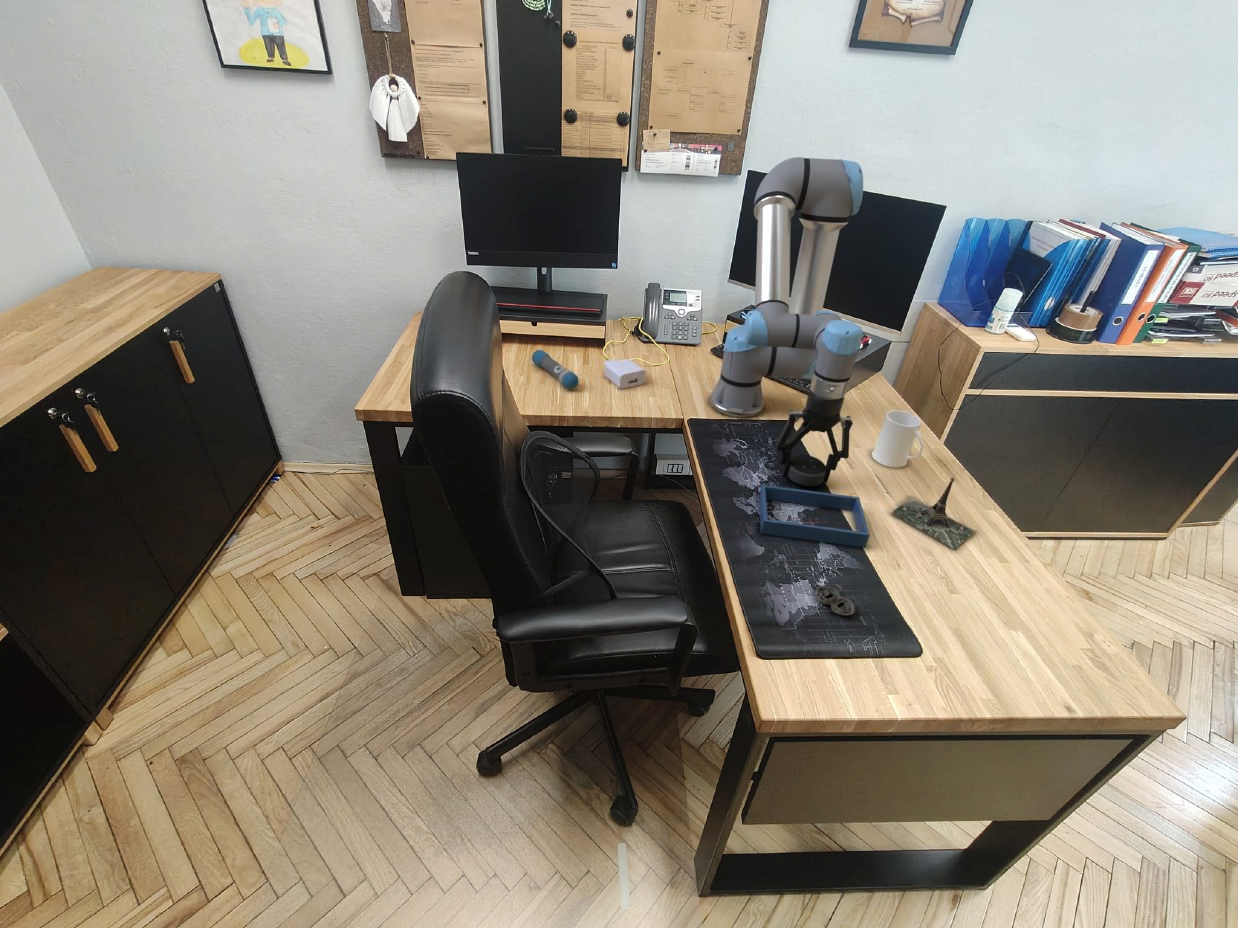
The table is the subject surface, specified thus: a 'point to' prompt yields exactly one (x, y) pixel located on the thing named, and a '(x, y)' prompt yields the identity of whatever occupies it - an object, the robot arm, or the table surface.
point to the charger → (624, 373)
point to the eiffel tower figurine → (935, 520)
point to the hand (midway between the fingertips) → (804, 477)
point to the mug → (897, 439)
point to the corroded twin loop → (835, 600)
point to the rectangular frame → (811, 531)
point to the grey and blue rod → (555, 369)
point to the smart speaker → (806, 470)
